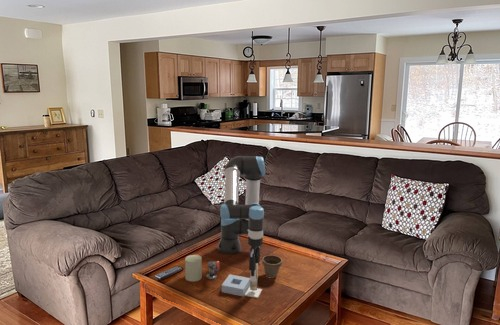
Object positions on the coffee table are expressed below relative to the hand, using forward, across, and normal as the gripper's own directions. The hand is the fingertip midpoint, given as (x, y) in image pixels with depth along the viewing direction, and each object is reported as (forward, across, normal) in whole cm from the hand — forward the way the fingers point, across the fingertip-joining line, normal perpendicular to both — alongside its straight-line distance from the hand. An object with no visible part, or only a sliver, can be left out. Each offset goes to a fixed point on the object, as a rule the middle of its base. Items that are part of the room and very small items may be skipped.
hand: (254, 278), depth 194 cm
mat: (+8, 0, 0) cm, 8 cm away
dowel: (+6, 0, 0) cm, 6 cm away
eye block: (+8, -1, -10) cm, 13 cm away
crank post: (+8, -8, -27) cm, 29 cm away
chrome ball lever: (+2, -6, -25) cm, 26 cm away
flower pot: (+8, -21, +4) cm, 23 cm away
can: (+8, -4, -36) cm, 37 cm away
